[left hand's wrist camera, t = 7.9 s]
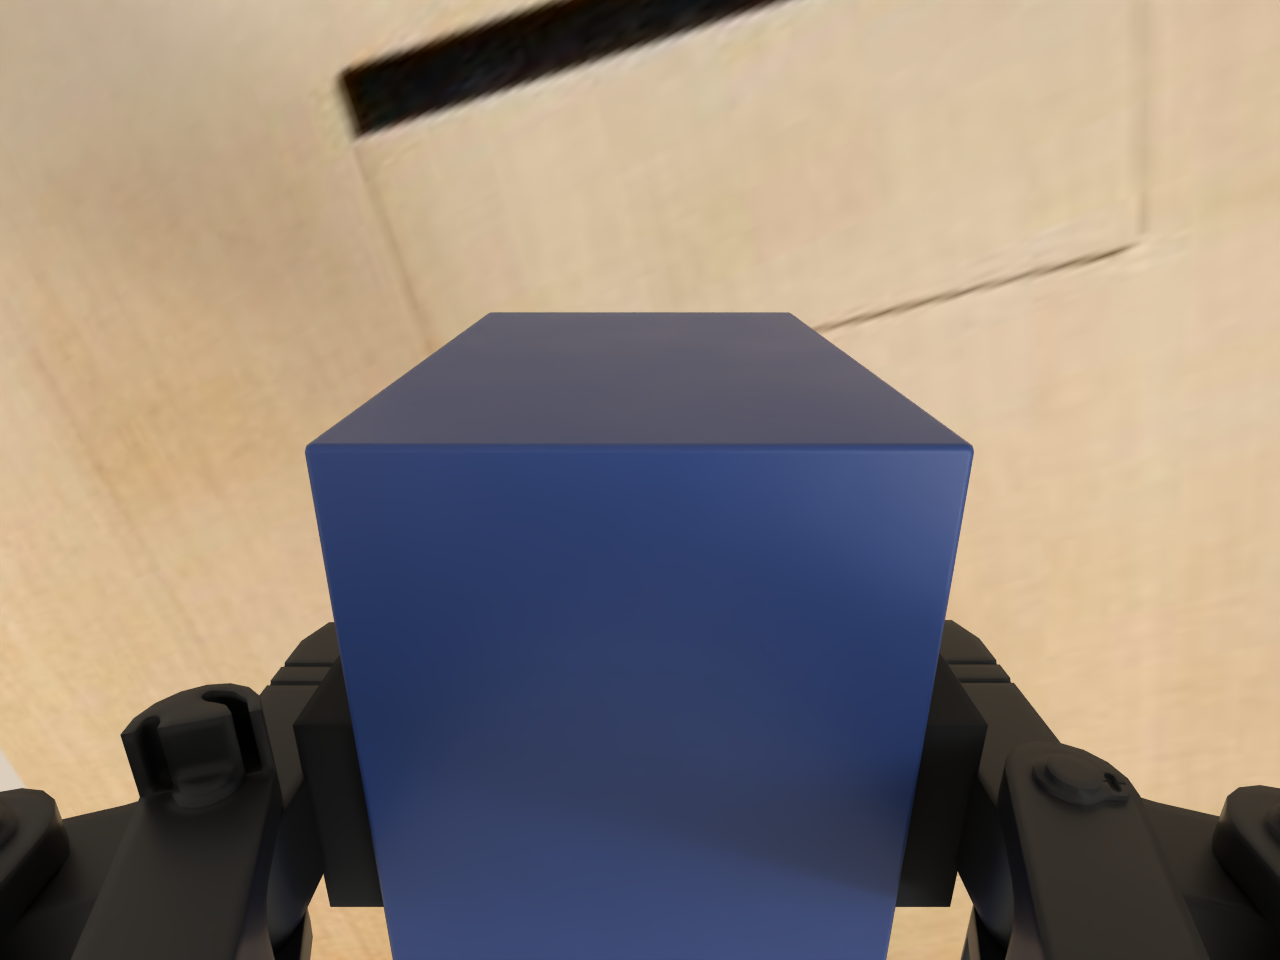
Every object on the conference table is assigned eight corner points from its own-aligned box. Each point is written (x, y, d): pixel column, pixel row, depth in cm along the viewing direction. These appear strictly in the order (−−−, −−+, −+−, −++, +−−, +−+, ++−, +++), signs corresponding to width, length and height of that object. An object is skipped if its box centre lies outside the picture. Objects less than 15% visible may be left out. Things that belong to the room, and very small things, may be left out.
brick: (487, 311, 14) (299, 446, 6) (791, 311, 14) (977, 445, 6) (516, 695, 18) (414, 1097, 10) (763, 695, 18) (865, 1099, 10)
